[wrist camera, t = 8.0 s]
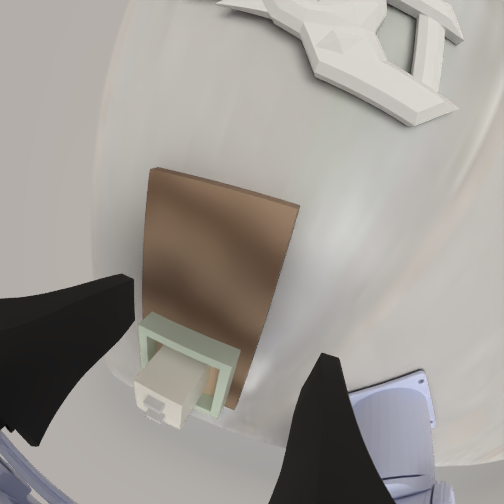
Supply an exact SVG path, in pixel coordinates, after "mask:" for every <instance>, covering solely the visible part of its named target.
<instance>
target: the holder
mask: <svg viewBox="0 0 504 504" xmlns="http://www.w3.org/2000/svg"><path fill="white" fill-rule="evenodd" d="M138 328H139V345H140V359H141V370H142V369H143V368H144V367H145V366H146V365H147V364H148V362H149V361H150V360H151V359H152V358H153V357H154V355H155V354H156V353H157V352H158V351H159V350H160V349H161V347H162V346H163V345H166V346H168V347H170V348H172V349H174V350H176V351H179V352H181V353H183V354H185V355H187V356H189V357H192V358H194V359H196V360H198V361H201V362H203V363H205V364H208V365H210V366H211V369H210V374H209V379H208V384H207V386H206V388H205V390H204V391H203V393H202V395H201V396H200V398H199V400H198V401H197V403H196V405H195V406H194V409H196V410H198V411H200V412H202V413H205V414H207V415H209V416H212V417H214V418H217V419H218V417H219V415H220V413H221V411H222V409H223V407H224V406H225V403H226V400H227V397H228V393H229V390H230V386H231V383H232V379H233V376H234V372H235V369H236V365H237V362H238V358H239V355H240V351H241V350H240V349H237V348H235V347H232V346H230V345H227V344H225V343H222V342H220V341H217V340H215V339H212V338H210V337H207V336H205V335H203V334H200V333H198V332H196V331H193V330H191V329H189V328H187V327H184V326H182V325H180V324H178V323H175V322H173V321H171V320H169V319H167V318H165V317H163V316H160V315H158V314H156V313H154V312H151V313H150V314H149V315H148V316H147V317H146V318H144V319H143V320H142V321H141V322H140V323H139V324H138Z"/></svg>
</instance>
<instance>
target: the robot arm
mask: <svg viewBox="0 0 504 504" xmlns="http://www.w3.org/2000/svg"><path fill="white" fill-rule="evenodd" d="M134 321H135V310H134V279H132V278H130V277H128V276H126V275H124V274H118V275H113V276H109V277H106V278H102V279H98V280H95V281H91V282H88V283H84V284H81V285H77V286H73V287H70V288H66V289H61V290H57V291H53V292H49V293H45V294H39V295H34V296H27V297H20V298H4V299H0V453H1V454H2V456H3V457H4V458H5V459H6V460H7V461H8V463H9V464H10V465H11V466H12V467H13V468H14V469H15V470H16V471H17V472H16V471H15V470H14V469H13V468H12V467H11V466H10V465H9V464H8V463H6V462H5V461H4V460H3V459H2V458H1V457H0V504H41V503H40V502H38V501H37V500H36V499H35V498H34V497H33V496H32V495H30V494H29V493H30V492H31V488H30V486H31V487H32V488H33V489H34V490H35V491H36V492H38V493H39V494H40V495H41V496H42V497H43V498H44V499H45V500H46V501H47V502H48V503H50V504H77V503H76V502H74V501H73V500H72V499H70V498H69V497H68V496H66V495H65V494H64V493H63V492H62V491H61V490H59V489H58V488H57V487H56V486H55V485H53V484H52V483H51V482H50V481H49V480H48V479H47V478H46V477H44V476H43V475H42V474H41V473H40V472H39V471H38V470H37V469H36V468H35V467H34V466H33V465H32V464H31V463H30V462H29V461H28V460H27V459H26V458H25V457H24V456H23V455H22V454H21V453H20V452H19V451H18V450H17V448H16V447H15V446H14V445H13V444H12V443H11V442H10V440H9V439H8V438H7V437H6V436H5V435H4V433H3V432H2V431H1V429H2V428H3V427H4V426H5V427H6V428H7V429H8V430H9V432H11V433H12V432H13V431H14V430H15V429H16V431H17V432H18V433H19V434H20V435H21V436H22V437H23V438H24V439H25V440H26V441H27V442H28V443H29V444H30V445H31V446H35V447H36V446H39V444H40V442H41V440H42V438H43V436H44V434H45V432H46V430H47V428H48V426H49V424H50V422H51V420H52V419H53V417H54V415H55V414H56V412H57V411H58V409H59V407H60V406H61V404H62V403H63V402H64V400H65V399H66V397H67V396H68V394H69V393H70V392H71V390H72V389H73V388H74V386H75V385H76V384H77V382H78V381H79V380H80V379H81V378H82V377H83V375H84V374H85V373H86V372H87V371H88V370H89V369H90V368H91V367H92V366H93V365H94V364H95V363H96V362H97V361H98V360H99V359H100V358H101V357H102V356H104V355H105V354H106V353H107V352H108V351H109V350H110V349H111V348H112V347H113V346H114V345H115V344H116V343H117V342H118V341H119V340H120V339H121V338H122V336H123V335H124V334H125V333H126V331H127V330H128V329H129V327H130V326H131V325H132V323H133V322H134ZM421 379H422V380H421ZM435 426H436V421H435V416H434V410H433V405H432V400H431V396H430V391H429V387H428V382H427V378H426V374H425V372H424V371H417V372H415V373H412V374H409V375H407V376H404V377H401V378H398V379H395V380H392V381H389V382H386V383H383V384H380V385H377V386H374V387H370V388H367V389H363V390H360V391H356V392H353V393H349V394H348V391H347V387H346V384H345V380H344V376H343V372H342V367H341V363H340V360H339V358H338V357H334V356H331V355H328V354H324V353H321V355H320V357H319V358H318V360H317V362H316V364H315V366H314V368H313V369H312V371H311V373H310V375H309V377H308V378H307V380H306V382H305V384H304V385H303V387H302V389H301V392H300V395H299V398H298V401H297V404H296V408H295V411H294V414H293V419H292V424H291V429H290V433H289V438H288V443H287V447H286V452H285V456H284V461H283V465H282V469H281V472H280V475H279V478H278V481H277V483H276V486H275V489H274V491H273V494H272V496H271V499H270V501H269V503H268V504H455V497H454V490H453V487H452V485H451V484H449V483H446V481H440V482H438V483H437V482H436V480H435V462H434V450H433V440H432V431H431V429H432V428H434V427H435ZM27 483H28V484H29V485H30V486H29V485H28V484H27Z"/></svg>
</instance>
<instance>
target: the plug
mask: <svg viewBox="0 0 504 504" xmlns="http://www.w3.org/2000/svg"><path fill="white" fill-rule="evenodd" d="M210 369H211V366H210V365H208V364H205V363H203V362H201V361H198V360H196V359H194V358H192V357H189V356H187V355H185V354H183V353H181V352H179V351H176V350H174V349H172V348H170V347H168V346H166V345H163V346H162V347H161V349H160V350H159V351H158V352H157V353H156V354H155V355H154V357H153V358H152V359H151V360H150V361H149V362H148V364H147V365H146V366H145V367H144V368H143V369H142V370H141V372H140V373H139V374H138V375H137V376H136V377H135V379H134V380H133V382H134V389H135V395H136V402H137V406H138V407H139V408H140V409H142V410H144V411H146V412H145V417H147V418H149V419H151V420H153V421H154V422H156V423H158V424H160V425H161V424H162V422H163V421H164V422H166V423H168V424H170V425H172V426H174V427H176V428H178V429H181V427H182V426H183V424H184V422H185V421H186V419H187V418H188V416H189V414H190V413H191V411H192V409H193V408H194V406H195V405H196V403H197V401H198V400H199V398H200V396H201V395H202V393H203V391H204V390H205V388H206V386H207V384H208V379H209V374H210Z"/></svg>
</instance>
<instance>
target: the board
mask: <svg viewBox="0 0 504 504" xmlns="http://www.w3.org/2000/svg"><path fill="white" fill-rule="evenodd" d="M299 207H300V205H297V204H293V203H290V202H287V201H284V200H280V199H277V198H274V197H270V196H267V195H263V194H260V193H256V192H253V191H249V190H246V189H242V188H239V187H235V186H231V185H228V184H224V183H220V182H216V181H212V180H209V179H205V178H201V177H197V176H193V175H189V174H185V173H180V172H176V171H172V170H168V169H163V168H159V167H158V168H153V169H150V173H149V182H148V191H147V202H146V214H145V228H144V246H143V278H142V308H143V319H144V318H146V317H147V316H148V315H149V314H150V313H151V312H154V313H156V314H158V315H160V316H163V317H165V318H167V319H169V320H171V321H173V322H175V323H178V324H180V325H182V326H184V327H187V328H189V329H191V330H193V331H196V332H198V333H200V334H203V335H205V336H207V337H210V338H212V339H215V340H217V341H220V342H222V343H225V344H227V345H230V346H232V347H235V348H237V349H240V350H241V351H240V355H239V358H238V362H237V365H236V369H235V372H234V376H233V379H232V383H231V386H230V390H229V393H228V397H227V400H226V403H225V407H228V408H230V409H233V410H234V409H235V407H236V405H237V403H238V400H239V397H240V395H241V392H242V389H243V386H244V383H245V380H246V377H247V374H248V372H249V369H250V366H251V363H252V360H253V357H254V354H255V351H256V348H257V345H258V342H259V339H260V336H261V333H262V329H263V326H264V323H265V320H266V317H267V314H268V311H269V308H270V305H271V301H272V298H273V295H274V292H275V289H276V285H277V282H278V279H279V276H280V272H281V269H282V266H283V262H284V259H285V256H286V252H287V249H288V246H289V242H290V239H291V235H292V232H293V229H294V225H295V222H296V218H297V215H298V211H299Z"/></svg>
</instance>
